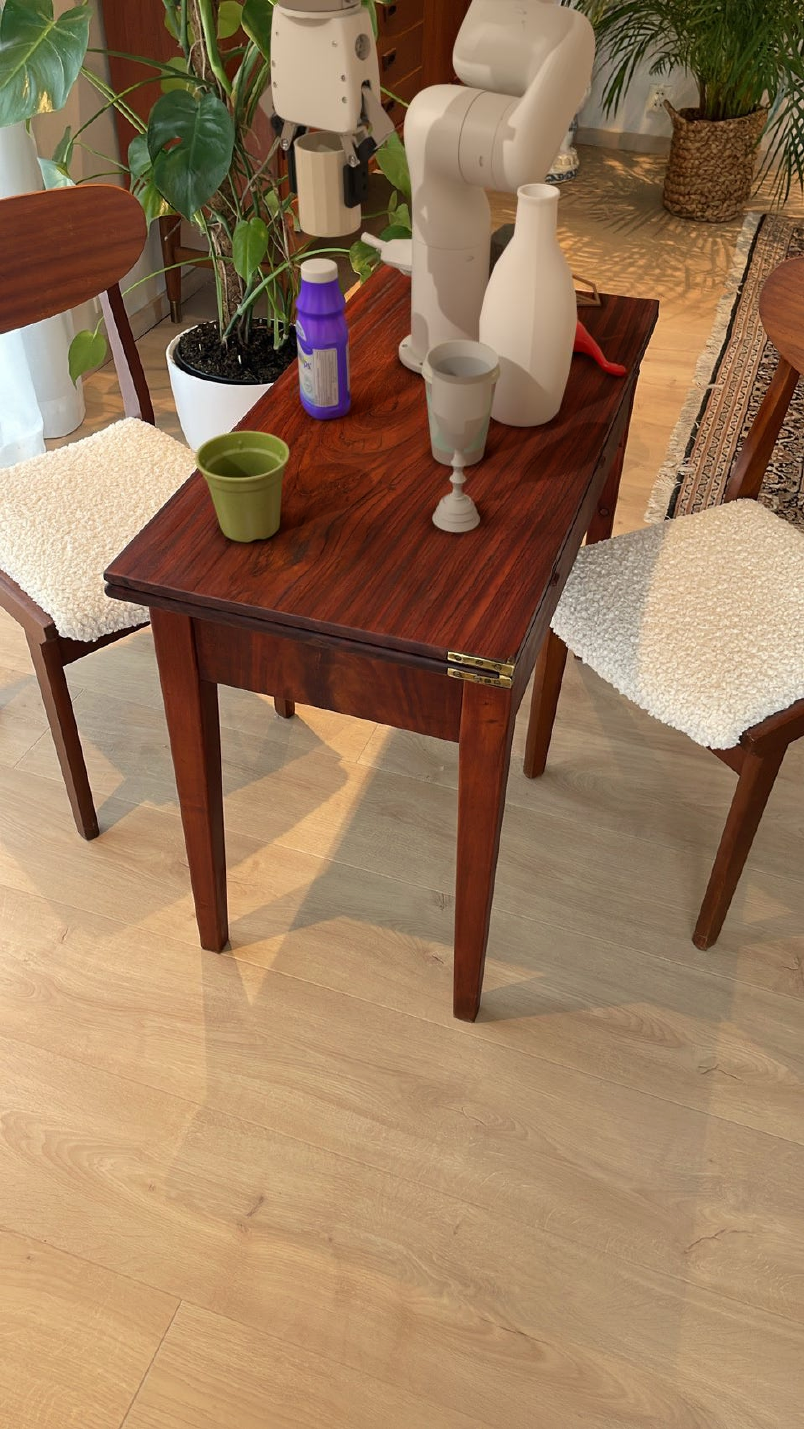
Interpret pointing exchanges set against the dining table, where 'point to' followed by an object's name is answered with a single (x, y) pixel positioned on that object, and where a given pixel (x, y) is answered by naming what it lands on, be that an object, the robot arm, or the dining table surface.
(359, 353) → the dining table surface
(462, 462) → the chalice
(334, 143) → the paper cup
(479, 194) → the robot arm
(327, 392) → the bottle
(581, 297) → the emblem
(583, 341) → the dinosaur
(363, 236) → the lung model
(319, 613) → the dining table surface
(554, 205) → the bottle
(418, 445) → the dining table surface
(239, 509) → the plant pot
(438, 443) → the coffee cup
